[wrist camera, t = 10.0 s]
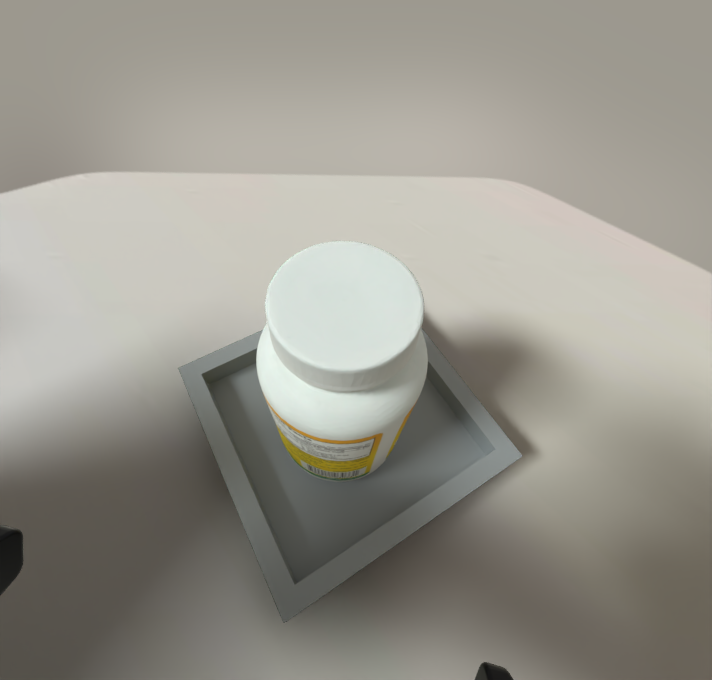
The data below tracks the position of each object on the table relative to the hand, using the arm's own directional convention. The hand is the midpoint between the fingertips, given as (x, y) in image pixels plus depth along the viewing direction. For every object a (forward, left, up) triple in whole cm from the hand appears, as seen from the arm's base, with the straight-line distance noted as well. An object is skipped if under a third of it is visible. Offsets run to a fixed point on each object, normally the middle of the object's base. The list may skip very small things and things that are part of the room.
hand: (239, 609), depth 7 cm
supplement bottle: (+5, +5, -9) cm, 11 cm away
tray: (+5, +5, -9) cm, 11 cm away
